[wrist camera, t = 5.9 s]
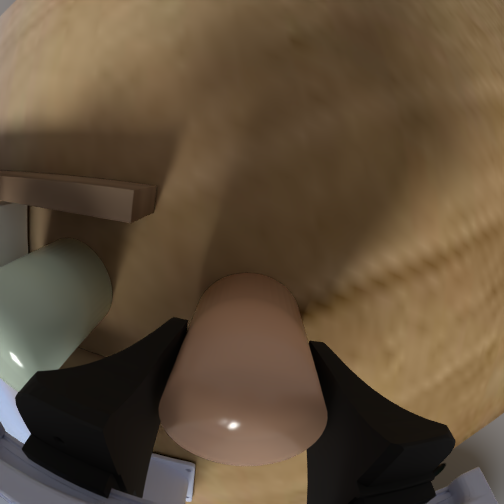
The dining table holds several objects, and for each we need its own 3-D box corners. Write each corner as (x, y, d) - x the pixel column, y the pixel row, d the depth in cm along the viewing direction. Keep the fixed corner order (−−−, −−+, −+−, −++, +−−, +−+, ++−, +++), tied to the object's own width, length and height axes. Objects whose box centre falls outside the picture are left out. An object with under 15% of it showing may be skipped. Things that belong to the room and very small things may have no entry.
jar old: (114, 333, 14) (56, 412, 8) (47, 310, 14) (-17, 367, 7) (112, 247, 12) (24, 305, 6) (40, 231, 12) (-46, 269, 6)
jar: (288, 365, 14) (303, 467, 8) (194, 354, 14) (165, 454, 8) (309, 279, 13) (350, 372, 6) (199, 265, 13) (152, 351, 6)
